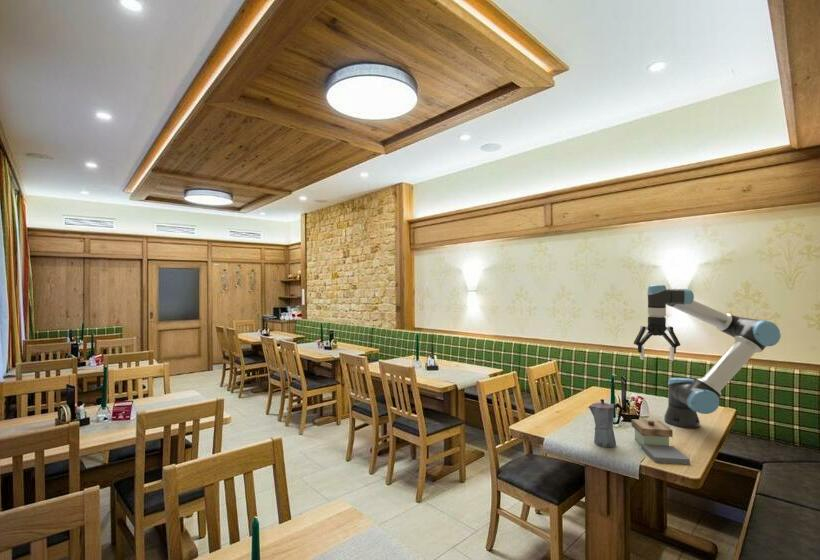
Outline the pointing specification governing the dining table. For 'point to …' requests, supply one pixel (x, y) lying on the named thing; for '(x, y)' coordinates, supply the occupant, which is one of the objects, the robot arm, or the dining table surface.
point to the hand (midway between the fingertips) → (656, 359)
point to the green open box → (651, 439)
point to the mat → (665, 454)
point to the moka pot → (604, 423)
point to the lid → (651, 428)
